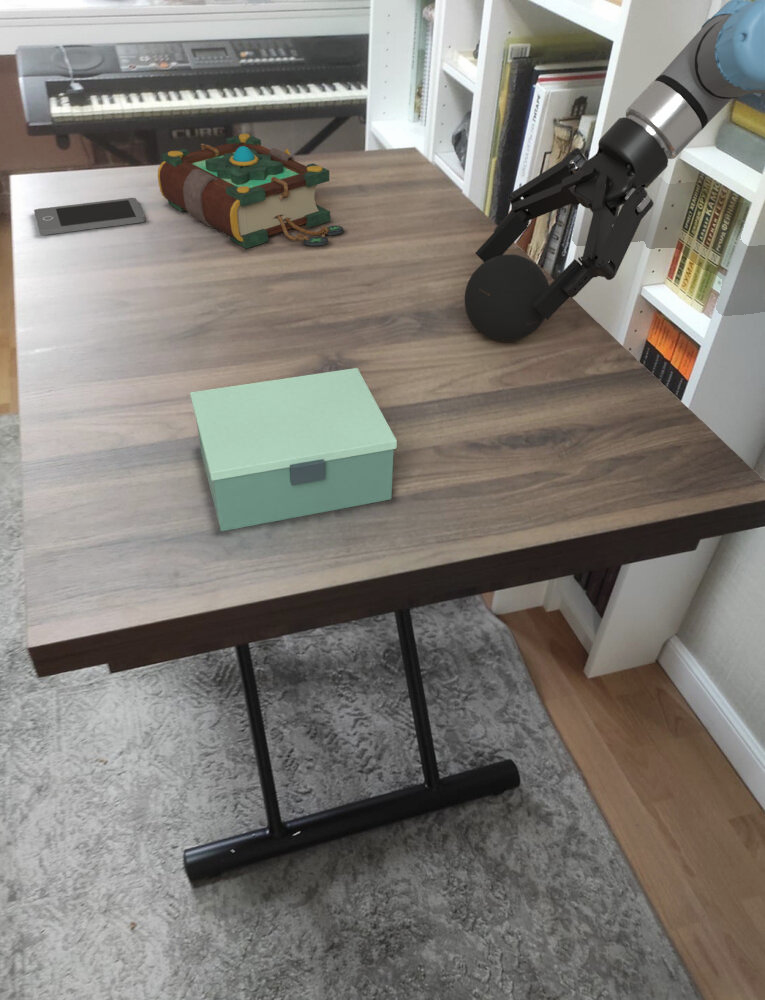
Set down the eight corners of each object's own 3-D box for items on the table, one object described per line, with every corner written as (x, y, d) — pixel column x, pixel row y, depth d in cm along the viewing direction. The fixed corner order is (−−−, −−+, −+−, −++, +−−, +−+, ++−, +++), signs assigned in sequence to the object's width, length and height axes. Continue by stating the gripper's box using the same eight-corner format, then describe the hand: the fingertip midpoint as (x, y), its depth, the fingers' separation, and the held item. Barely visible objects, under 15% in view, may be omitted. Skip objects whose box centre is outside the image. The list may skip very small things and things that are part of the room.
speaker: (456, 352, 98) (464, 273, 92) (466, 311, 106) (473, 236, 99) (541, 362, 97) (555, 283, 91) (545, 321, 105) (558, 245, 98)
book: (375, 228, 124) (377, 160, 118) (260, 268, 113) (255, 195, 107) (269, 176, 139) (265, 113, 132) (157, 207, 128) (147, 140, 121)
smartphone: (136, 201, 129) (135, 196, 129) (146, 221, 123) (145, 217, 123) (34, 213, 125) (33, 208, 124) (40, 235, 119) (39, 230, 118)
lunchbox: (355, 422, 87) (356, 365, 83) (395, 503, 78) (398, 443, 73) (197, 448, 83) (189, 389, 79) (219, 537, 74) (211, 476, 69)
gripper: (734, 201, 86) (583, 354, 91) (598, 126, 103) (478, 258, 108) (707, 154, 81) (549, 318, 86) (569, 83, 98) (444, 224, 103)
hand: (509, 285), depth 97 cm, fingers open, 13 cm apart
